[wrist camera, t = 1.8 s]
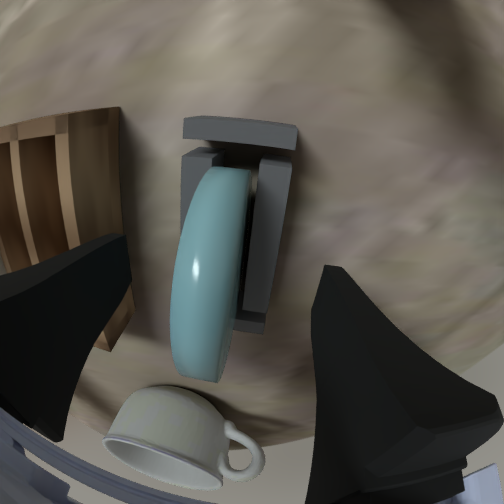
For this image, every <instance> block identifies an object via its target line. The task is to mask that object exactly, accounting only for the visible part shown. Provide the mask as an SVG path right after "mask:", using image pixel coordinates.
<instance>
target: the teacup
mask: <svg viewBox="0 0 504 504" xmlns="http://www.w3.org/2000/svg"><path fill="white" fill-rule="evenodd" d="M230 439H232V440H235V441H237V442H239V443H241V444H243V445H244V446H245V447H247V448H248V449H249V450H250V451H251V454H252V456H253V457H252V462H251V464H250V465H249V466H248V467H247V468H246V469H244V470H234V469H233V468H231V466H230V464H229V458H228V451H229V445H230ZM102 443H103V445H104V447H105V448H106V449H107V450H108V451H109V452H110V453H111V455H113V456H114V457H116V458H117V459H118V460H120V461H121V462H123V463H124V464H126V465H127V466H129V467H131V468H133V469H135V470H137V471H139V472H141V473H143V474H145V475H147V476H150V477H152V478H155V479H157V480H160V481H163V482H166V483H170V484H173V485H177V486H181V487H185V488H189V489H197V490H216V489H219V488H221V487H222V486H223V480H222V479H223V475H224V476H225V477H226V478H228V479H230V480H233V481H237V482H247V481H249V480H252V479H254V478H256V477H257V476H258V475H259V474H260V473H261V472H262V470H263V467H264V465H265V454H264V452H263V450H262V448H261V447H260V445H259V444H258V443H257V442H256V441H255V440H254V439H252V438H251V437H250V436H248V435H247V434H245V433H243V432H241V431H239V430H238V429H237V428H236V426H235V424H234V423H233V422H232V421H229V420H225V419H224V418H223V416H222V415H221V414H220V413H219V412H218V411H217V410H216V408H215V407H214V406H213V405H212V404H211V403H210V402H209V401H207V400H206V399H204V398H203V397H201V396H200V395H198V394H196V393H194V392H191V391H189V390H186V389H182V388H179V387H174V386H156V387H147V388H142V389H139V390H137V391H135V392H134V393H132V394H131V395H130V396H129V397H128V398H127V399H126V401H125V402H124V404H123V405H122V407H121V409H120V410H119V412H118V414H117V416H116V418H115V420H114V422H113V424H112V426H111V428H110V430H109V432H108V434H107V435H106V436H105V437H104V438H103V440H102Z"/></svg>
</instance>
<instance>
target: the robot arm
mask: <svg viewBox="0 0 504 504" xmlns="http://www.w3.org/2000/svg"><path fill="white" fill-rule="evenodd" d="M131 281H132V277H131V270H130V263H129V256H128V248H127V240H126V235H123V234H117V233H110V234H107V235H104V236H101V237H98V238H96V239H93V240H91V241H88V242H86V243H84V244H82V245H79V246H77V247H75V248H73V249H70V250H68V251H66V252H63V253H61V254H59V255H56V256H54V257H52V258H49V259H47V260H45V261H42V262H40V263H37V264H35V265H32V266H29V267H26V268H23V269H21V270H18V271H14V272H11V273H7V274H3V275H0V504H82V503H80V502H78V501H76V500H74V499H72V498H71V497H69V496H67V494H68V492H69V489H70V485H69V484H67V483H66V482H64V481H62V480H61V479H59V478H57V477H56V476H54V475H52V474H51V473H49V472H48V471H46V470H44V469H43V468H41V467H40V466H38V465H37V464H35V463H34V462H32V461H31V460H29V459H28V458H27V457H26V456H25V451H24V448H25V449H27V450H28V451H30V452H31V453H32V454H34V455H35V456H37V457H38V458H40V459H41V460H43V461H44V462H46V463H48V464H49V465H51V466H52V467H54V468H56V469H57V470H59V471H61V472H63V473H64V474H66V475H68V476H70V477H71V478H73V479H75V480H77V481H79V482H81V483H83V484H85V485H87V486H89V487H91V488H93V489H95V490H97V491H100V492H102V493H104V494H106V495H108V496H111V497H113V498H115V499H118V500H120V501H123V502H125V503H128V504H216V503H210V502H204V501H200V500H195V499H191V498H186V497H182V496H178V495H174V494H171V493H167V492H164V491H160V490H157V489H153V488H150V487H147V486H144V485H141V484H138V483H136V482H133V481H130V480H127V479H125V478H122V477H120V476H117V475H115V474H112V473H110V472H108V471H105V470H103V469H101V468H98V467H96V466H94V465H92V464H90V463H88V462H86V461H84V460H81V459H80V458H78V457H76V456H74V455H72V454H70V453H68V452H66V451H65V450H63V449H61V448H59V447H57V446H56V445H54V444H53V443H51V442H49V441H48V440H46V439H44V438H43V437H41V436H40V435H38V434H36V433H35V432H33V431H32V430H30V429H29V428H28V427H30V428H33V429H34V430H36V431H37V432H39V433H40V434H42V435H43V436H45V437H47V438H48V439H50V440H52V441H53V442H60V441H62V440H63V437H64V431H65V425H66V421H67V416H68V411H69V408H70V404H71V401H72V397H73V394H74V390H75V388H76V385H77V382H78V379H79V377H80V374H81V371H82V369H83V367H84V364H85V362H86V360H87V357H88V355H89V353H90V351H91V349H92V347H93V346H94V344H95V342H96V340H97V339H98V337H99V336H100V334H101V333H102V331H103V329H104V328H105V326H106V325H107V323H108V322H109V320H110V319H111V317H112V316H113V314H114V312H115V311H116V309H117V308H118V306H119V305H120V303H121V302H122V300H123V298H124V296H125V294H126V292H127V290H128V288H129V285H130V283H131ZM311 340H312V350H313V359H314V369H315V379H316V393H317V405H316V426H315V439H314V450H313V458H312V467H311V473H310V479H309V485H308V491H307V496H306V501H305V504H503V497H502V490H501V485H500V479H499V474H498V470H497V465H496V463H493V464H491V465H489V466H486V467H484V468H482V469H480V470H477V471H475V472H473V473H470V474H468V475H467V476H464V477H463V476H462V469H464V468H466V467H467V459H466V456H467V455H468V454H470V453H471V452H473V451H474V450H475V449H477V448H478V447H480V446H481V445H482V444H484V443H485V442H486V441H488V440H489V439H490V438H491V437H492V436H493V435H495V434H496V433H497V432H498V431H499V429H500V428H501V426H502V425H503V422H504V418H503V416H502V413H501V410H500V407H499V404H498V402H497V399H496V397H495V395H493V394H491V393H489V392H487V391H485V390H483V389H481V388H480V387H478V386H476V385H474V384H472V383H470V382H468V381H466V380H465V379H463V378H462V377H460V376H458V375H457V374H455V373H454V372H452V371H450V370H449V369H447V368H446V367H445V366H443V365H442V364H440V363H439V362H437V361H436V360H435V359H433V358H432V357H431V356H429V355H428V354H427V353H426V352H424V351H423V350H422V349H420V348H419V347H418V346H417V345H416V344H414V343H413V342H412V341H411V340H410V339H409V338H408V337H407V336H405V335H404V334H403V333H402V332H401V331H400V330H399V329H398V328H397V327H396V326H395V325H394V324H393V323H392V322H391V321H390V320H389V319H388V318H387V317H386V316H385V315H384V314H383V313H382V312H381V311H380V310H379V309H378V308H377V307H376V305H375V304H374V303H373V302H372V301H371V300H370V299H369V298H368V296H367V295H366V294H365V293H364V292H363V291H362V289H361V288H360V287H359V286H358V285H357V284H356V282H355V281H354V280H353V279H352V278H351V277H350V275H349V274H348V273H347V272H346V271H345V270H344V269H343V268H342V267H338V266H331V265H325V266H324V269H323V273H322V276H321V280H320V283H319V287H318V290H317V293H316V297H315V300H314V303H313V306H312V309H311ZM23 423H24V424H25V425H27V426H28V427H26V426H25V425H23ZM22 446H23V447H24V448H23V447H22Z"/></svg>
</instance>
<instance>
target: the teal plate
mask: <svg viewBox="0 0 504 504" xmlns="http://www.w3.org/2000/svg"><path fill="white" fill-rule="evenodd" d="M251 193H252V177H251V171H250V170H245V169H237V168H228V167H218V166H214V167H212V168H210V169H209V170H208V171H207V172H206V173H205V175H204V176H203V178H202V179H201V181H200V183H199V185H198V187H197V189H196V191H195V193H194V196H193V199H192V201H191V204H190V206H189V209H188V213H187V216H186V219H185V222H184V226H183V230H182V234H181V238H180V242H179V247H178V252H177V257H176V262H175V269H174V275H173V283H172V293H171V306H170V338H171V348H172V355H173V360H174V363H175V366H176V369H177V371H178V372H179V374H180V375H182V376H185V377H190V378H194V379H199V380H204V381H209V382H214V383H218V382H219V381H220V379H221V376H222V374H223V371H224V367H225V364H226V360H227V356H228V352H229V347H230V343H231V338H232V333H233V328H234V323H235V317H236V312H237V306H238V300H239V294H240V288H241V281H242V275H243V268H244V261H245V253H246V246H247V237H248V229H249V219H250V208H251Z"/></svg>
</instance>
